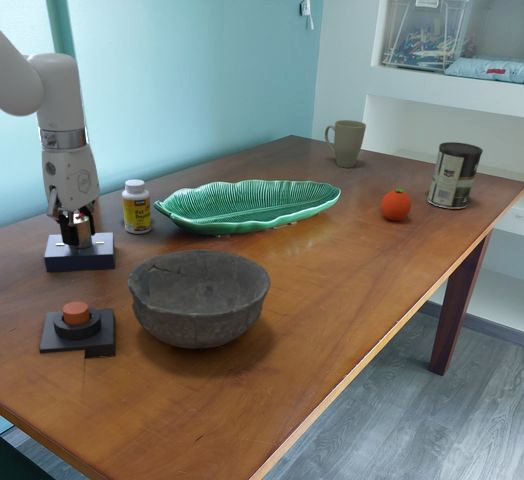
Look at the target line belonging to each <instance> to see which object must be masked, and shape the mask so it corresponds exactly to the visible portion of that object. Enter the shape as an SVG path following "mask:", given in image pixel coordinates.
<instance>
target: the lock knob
mask: <svg viewBox="0 0 524 480" xmlns="http://www.w3.org/2000/svg"><path fill="white" fill-rule="evenodd" d="M79 213H80V212H79ZM65 216H66V217H67V215H65ZM74 225H77V230H78V236H79V243H80V245H79V246H71V245H68V246H69V247H71V248H76V249H81V248H86V247H89V246H91V245H92V237H91V229H90V222H89V217H88V216H86V215H84V213H80V214H76V213H74Z"/></svg>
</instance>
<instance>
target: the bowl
mask: <svg viewBox="0 0 524 480" xmlns="http://www.w3.org/2000/svg"><path fill="white" fill-rule="evenodd" d="M271 283H272V281H271V277H270V274H269V272H268V270H267V269H266V268H265V267H263V266H262V265H261V264H259V263H258V262H256V261H254V260H252V259H250V258H247V257H245V256H242V255H238V254H235V253H230V252H226V251H218V250H208V249H190V250H179V251H174V252H169V253H164V254H160V255H155V256H152V257H150V258H148V259H146V260H145V261H143V262H141V263H139V264H138V265H136V266H135V267H133V268H132V269H131V272H130V274H128V275H127V288H128V290H129V292H130V294H131V297H132V301H133V302H132V304H131V306H132V310H133V314H134V317H135V319H136V320H137V322H138V323H139V325H140V326H141V327H142V328H144V329H145V331H146V333H148V334H150V335H151V336H153V337H154V338H155V339H157V340H158V341H161V342H162V343H164V344H167V345H169V346H173V347H177V348H181V349H208V348H217V347H221V346H224V345H225V344H227V343H229V342H233V340H235V339H237V338H238V337H240V336H241V335H243V333H245V332H246V331H248V330H249V329H250V328H251V327H252V326H253V325H254V324H256V323H257V322H258V320H259V318H260V317H261V315H262V310H263V304H264V302H265V299H266V297H267V294H268V293H269V290H270V288H271Z"/></svg>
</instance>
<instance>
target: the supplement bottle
mask: <svg viewBox="0 0 524 480" xmlns="http://www.w3.org/2000/svg"><path fill="white" fill-rule="evenodd" d="M124 189H125V190H123V191H122V193H121V198H122V208H123V209H122V210H123V217H124V218H123V220H124V221H123V222H124V228H125V230H126V232H129V233H131V234H135V235H138V234H146V233H148V232H150V231H151V229H152V212H151V200H150V199H151V198H150V196H151V195H150V192H149V191H148V190H147V189H146V183H145V181H144V180H142V179H129V180H126V181H125V182H124Z"/></svg>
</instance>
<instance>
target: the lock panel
mask: <svg viewBox="0 0 524 480" xmlns="http://www.w3.org/2000/svg"><path fill="white" fill-rule="evenodd" d="M91 237H92V245H91V246H89V247H86V248H81V249H76V248H71V247H69V246H68V245H66V244H64V243H63V241H62V235H61V233H60V234H49V235H48V239H47V243H46V248H45V252H44V256H43V259H44V260H43V261H44V265H45V270H46V273H55V272H76V271H93V270H97V271H98V270H114V269H116V268H115V267H116V245H115V237H114V232H95V235H94V236H91Z"/></svg>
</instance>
